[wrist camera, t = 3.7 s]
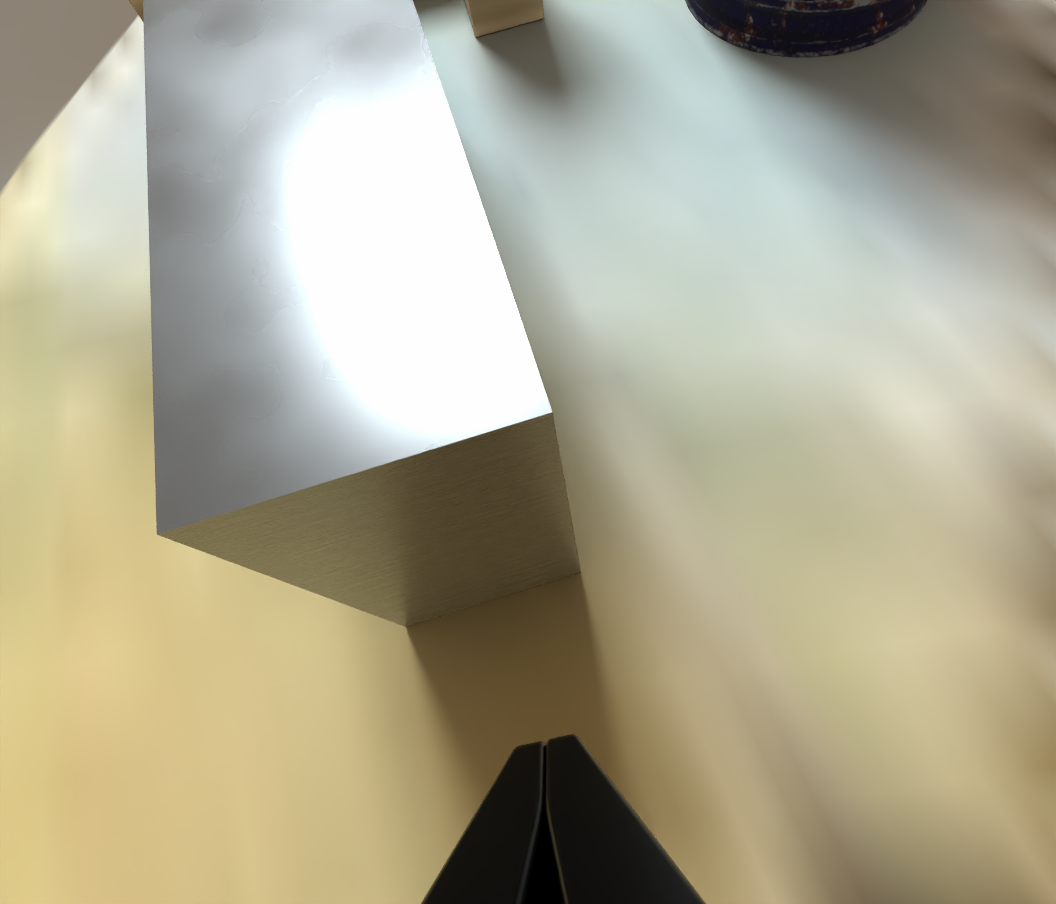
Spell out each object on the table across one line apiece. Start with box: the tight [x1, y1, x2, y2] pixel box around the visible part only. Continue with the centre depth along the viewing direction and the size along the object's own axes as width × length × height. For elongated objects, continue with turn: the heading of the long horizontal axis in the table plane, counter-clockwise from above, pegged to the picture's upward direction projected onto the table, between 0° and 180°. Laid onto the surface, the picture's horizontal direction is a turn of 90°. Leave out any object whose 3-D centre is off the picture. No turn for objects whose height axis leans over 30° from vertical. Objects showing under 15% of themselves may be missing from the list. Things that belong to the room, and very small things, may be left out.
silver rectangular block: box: [143, 0, 581, 627], centre depth 16 cm, size 20×5×10 cm, turn 16°
